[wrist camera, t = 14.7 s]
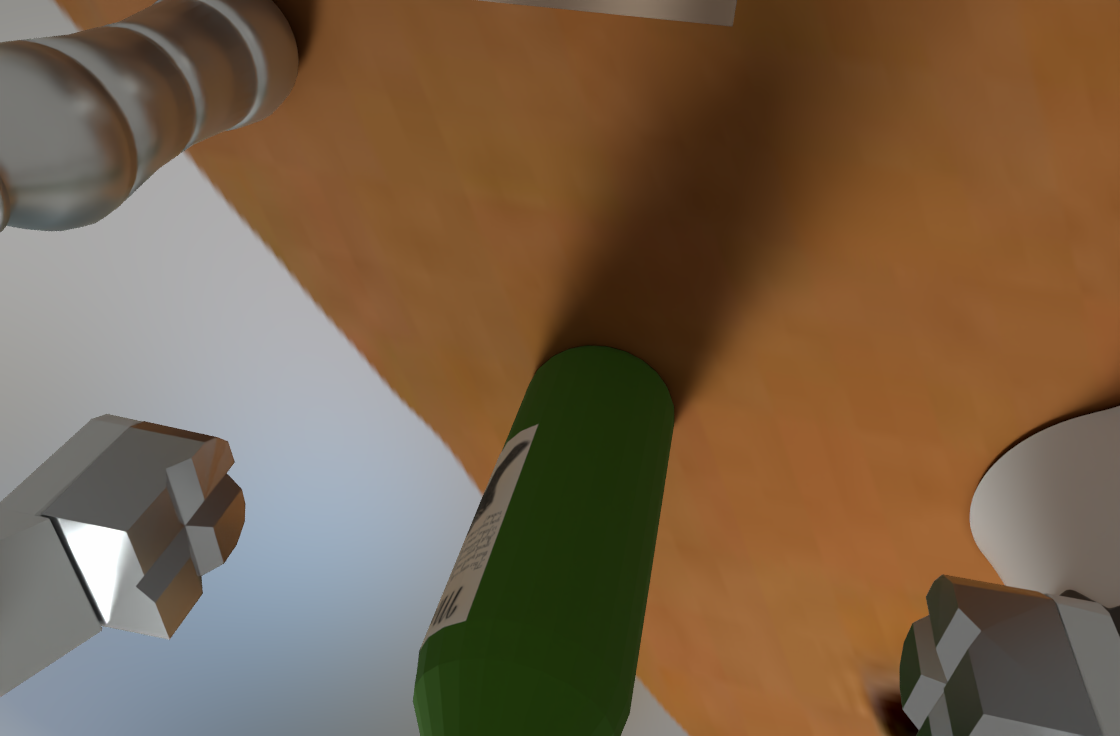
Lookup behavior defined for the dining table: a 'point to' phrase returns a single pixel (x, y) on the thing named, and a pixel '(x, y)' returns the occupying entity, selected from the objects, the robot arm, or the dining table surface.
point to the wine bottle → (555, 560)
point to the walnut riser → (648, 8)
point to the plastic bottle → (131, 102)
